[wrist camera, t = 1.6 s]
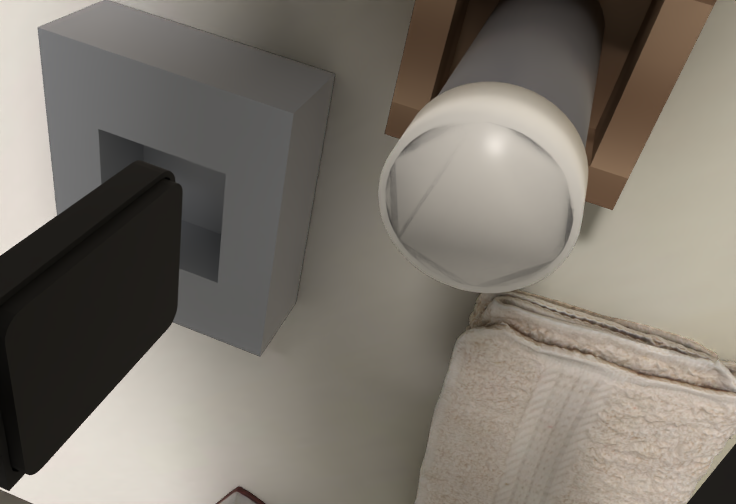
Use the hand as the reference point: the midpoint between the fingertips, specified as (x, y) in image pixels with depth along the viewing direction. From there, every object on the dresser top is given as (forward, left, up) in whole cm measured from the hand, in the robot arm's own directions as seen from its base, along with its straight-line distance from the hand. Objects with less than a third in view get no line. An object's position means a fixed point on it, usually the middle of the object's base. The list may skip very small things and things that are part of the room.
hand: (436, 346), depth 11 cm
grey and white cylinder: (-1, 0, -15) cm, 15 cm away
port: (+9, -12, -16) cm, 22 cm away
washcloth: (+18, +7, -17) cm, 26 cm away
